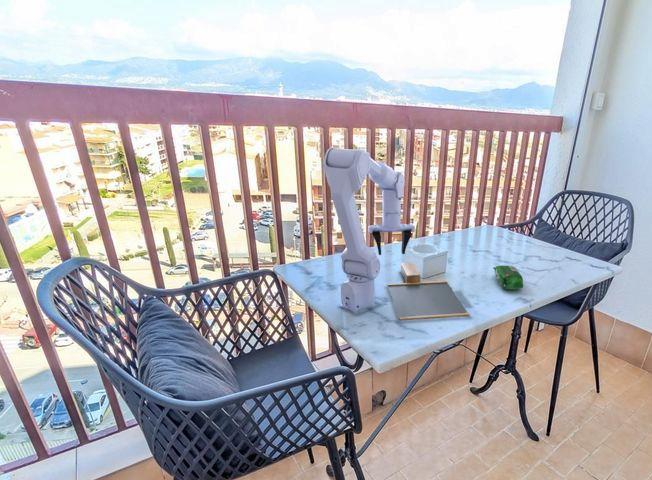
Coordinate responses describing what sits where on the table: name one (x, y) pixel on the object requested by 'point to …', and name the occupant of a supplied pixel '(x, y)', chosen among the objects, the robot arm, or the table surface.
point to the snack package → (508, 277)
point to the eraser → (410, 272)
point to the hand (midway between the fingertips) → (391, 253)
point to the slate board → (425, 300)
